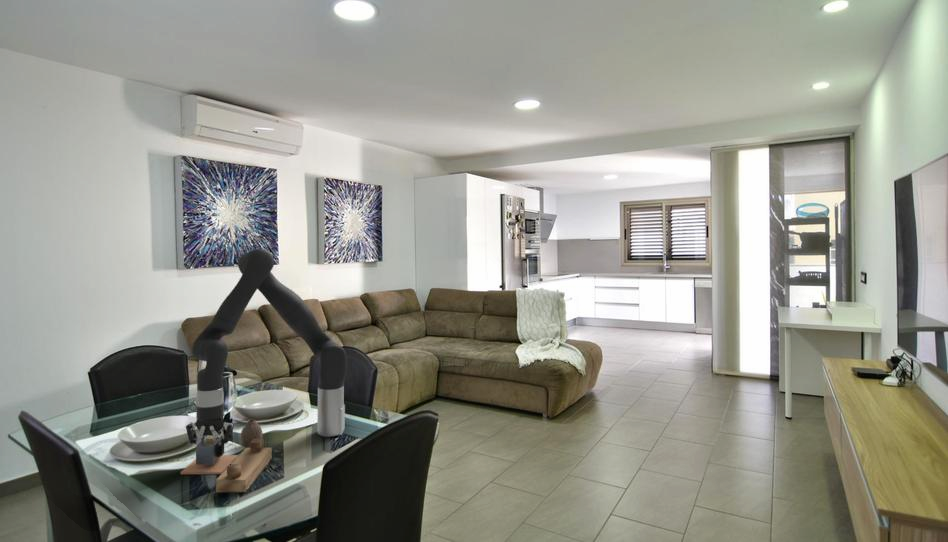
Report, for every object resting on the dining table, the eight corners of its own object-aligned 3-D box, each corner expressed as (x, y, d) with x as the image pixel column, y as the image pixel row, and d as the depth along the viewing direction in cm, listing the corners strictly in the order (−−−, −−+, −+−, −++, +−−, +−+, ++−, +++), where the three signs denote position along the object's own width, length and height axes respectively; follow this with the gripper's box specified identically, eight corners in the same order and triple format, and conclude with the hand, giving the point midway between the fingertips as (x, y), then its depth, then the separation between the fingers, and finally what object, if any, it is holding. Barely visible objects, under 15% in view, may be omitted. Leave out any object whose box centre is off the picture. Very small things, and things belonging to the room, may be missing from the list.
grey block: (224, 453, 161) (224, 433, 160) (213, 464, 153) (212, 443, 152) (208, 453, 160) (208, 433, 160) (195, 464, 152) (195, 443, 152)
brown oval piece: (244, 441, 175) (244, 417, 175) (265, 441, 176) (265, 417, 175) (237, 450, 168) (237, 424, 168) (258, 449, 169) (258, 424, 168)
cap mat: (237, 456, 163) (237, 455, 163) (221, 474, 151) (221, 472, 151) (199, 457, 162) (199, 455, 162) (180, 474, 150) (180, 472, 150)
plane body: (271, 458, 163) (271, 438, 162) (245, 492, 141) (245, 469, 141) (246, 458, 162) (246, 438, 162) (216, 492, 140) (215, 469, 140)
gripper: (238, 398, 160) (239, 451, 161) (192, 398, 159) (192, 451, 160) (228, 406, 152) (229, 461, 153) (179, 406, 151) (180, 461, 152)
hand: (210, 455), depth 157 cm, fingers closed on grey block, 5 cm apart
